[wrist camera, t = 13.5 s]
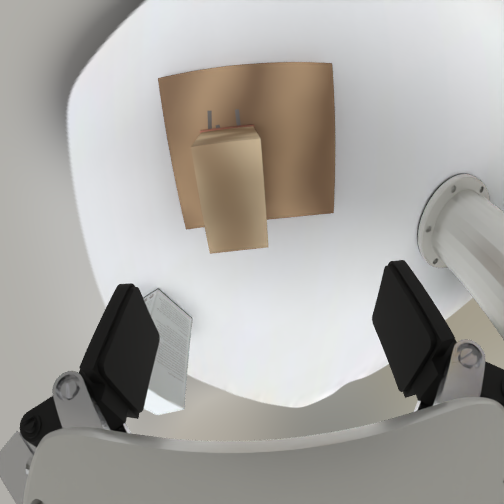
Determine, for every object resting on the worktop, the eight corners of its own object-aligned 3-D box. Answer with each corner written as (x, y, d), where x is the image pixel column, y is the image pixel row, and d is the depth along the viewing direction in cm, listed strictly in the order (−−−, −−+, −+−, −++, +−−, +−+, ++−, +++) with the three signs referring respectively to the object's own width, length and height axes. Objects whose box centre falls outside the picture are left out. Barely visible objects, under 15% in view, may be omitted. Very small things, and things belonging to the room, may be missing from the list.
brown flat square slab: (325, 64, 18) (332, 63, 16) (328, 206, 25) (333, 213, 24) (162, 79, 18) (157, 78, 16) (188, 221, 25) (185, 229, 23)
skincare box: (134, 302, 30) (108, 391, 20) (158, 287, 29) (135, 382, 19) (169, 331, 33) (157, 416, 23) (194, 318, 32) (186, 409, 22)
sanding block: (253, 124, 19) (262, 136, 14) (260, 209, 23) (269, 248, 18) (200, 130, 19) (188, 145, 14) (213, 214, 23) (208, 255, 18)
